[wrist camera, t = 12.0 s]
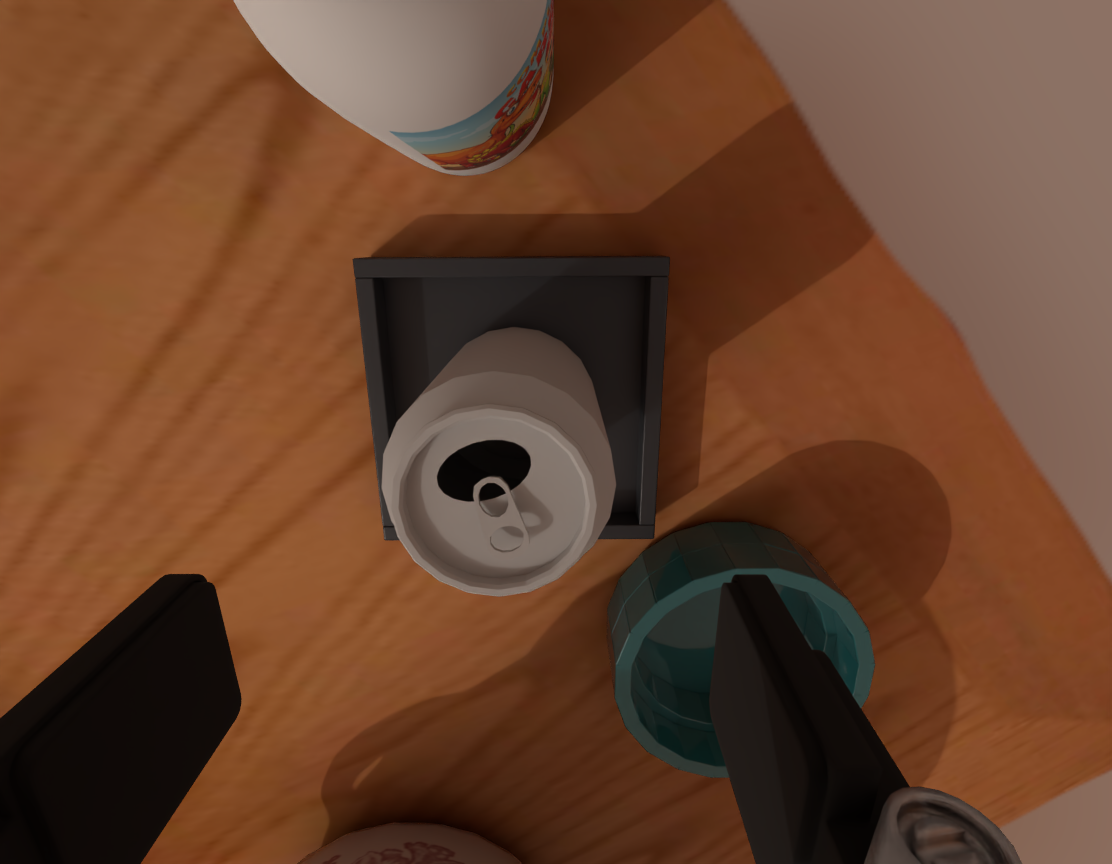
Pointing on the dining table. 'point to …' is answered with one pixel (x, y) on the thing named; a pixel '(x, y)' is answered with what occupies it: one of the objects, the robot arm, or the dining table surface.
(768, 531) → the bowl
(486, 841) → the chamber pot
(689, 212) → the dining table surface
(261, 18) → the milk bottle
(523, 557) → the can
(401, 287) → the tray
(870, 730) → the robot arm
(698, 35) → the dining table surface
